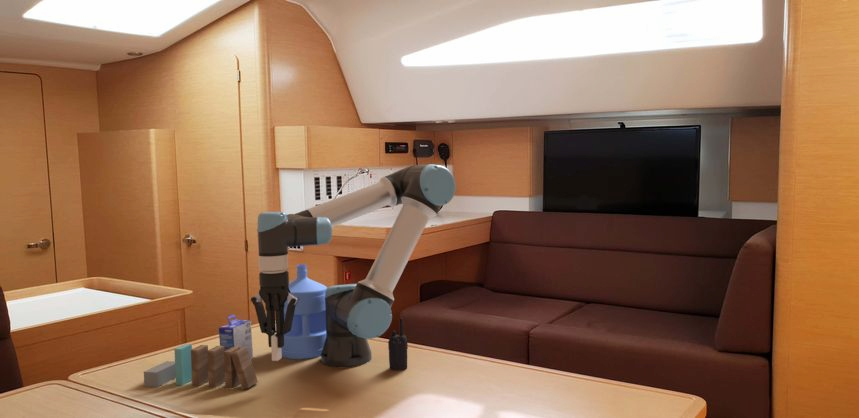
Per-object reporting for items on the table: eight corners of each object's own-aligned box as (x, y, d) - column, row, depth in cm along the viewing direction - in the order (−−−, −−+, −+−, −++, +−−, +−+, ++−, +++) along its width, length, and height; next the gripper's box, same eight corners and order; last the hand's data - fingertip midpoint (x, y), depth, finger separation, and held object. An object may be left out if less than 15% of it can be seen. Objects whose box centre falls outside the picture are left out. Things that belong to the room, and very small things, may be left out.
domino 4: (258, 381, 179) (246, 346, 179) (248, 387, 174) (236, 351, 174) (251, 383, 179) (240, 348, 179) (242, 389, 174) (230, 353, 175)
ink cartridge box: (238, 357, 204) (236, 311, 203) (253, 359, 203) (252, 312, 202) (219, 367, 195) (217, 319, 194) (235, 368, 193) (234, 319, 192)
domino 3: (241, 382, 180) (240, 346, 179) (232, 388, 175) (230, 351, 175) (235, 382, 181) (233, 346, 180) (225, 388, 176) (223, 351, 175)
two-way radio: (408, 368, 191) (407, 316, 190) (406, 372, 186) (405, 320, 185) (389, 367, 191) (388, 316, 190) (387, 372, 187) (386, 320, 186)
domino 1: (209, 380, 182) (207, 345, 182) (198, 386, 178) (197, 350, 177) (202, 380, 183) (201, 344, 182) (192, 386, 178) (190, 349, 177)
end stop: (179, 375, 188) (179, 361, 187) (157, 387, 178) (156, 372, 178) (167, 374, 188) (166, 361, 188) (144, 386, 179) (143, 371, 179)
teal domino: (193, 379, 184) (191, 344, 183) (182, 385, 179) (180, 349, 178) (186, 379, 184) (185, 344, 184) (175, 385, 179) (174, 348, 179)
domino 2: (225, 381, 181) (224, 346, 181) (215, 387, 176) (213, 351, 176) (218, 381, 182) (217, 345, 181) (208, 387, 177) (207, 350, 176)
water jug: (276, 349, 213) (274, 263, 211) (325, 344, 217) (323, 260, 215) (281, 363, 198) (277, 270, 196) (333, 357, 202) (330, 267, 201)
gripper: (302, 269, 175) (305, 356, 176) (258, 268, 178) (261, 354, 179) (290, 273, 168) (293, 364, 169) (244, 272, 171) (247, 362, 172)
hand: (276, 359), depth 174 cm, fingers closed
